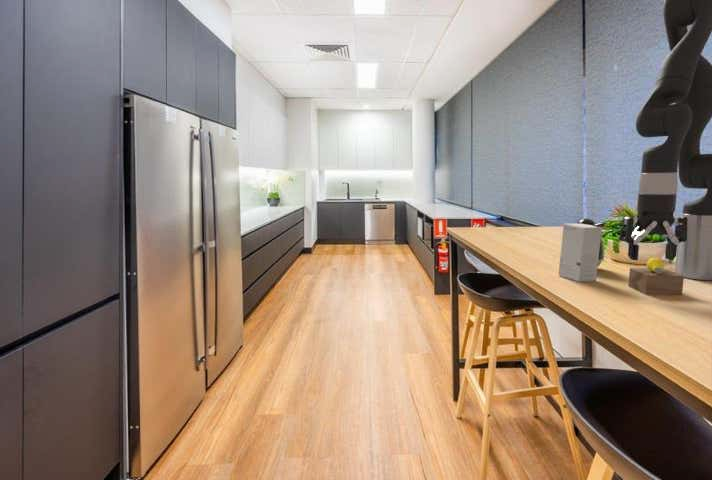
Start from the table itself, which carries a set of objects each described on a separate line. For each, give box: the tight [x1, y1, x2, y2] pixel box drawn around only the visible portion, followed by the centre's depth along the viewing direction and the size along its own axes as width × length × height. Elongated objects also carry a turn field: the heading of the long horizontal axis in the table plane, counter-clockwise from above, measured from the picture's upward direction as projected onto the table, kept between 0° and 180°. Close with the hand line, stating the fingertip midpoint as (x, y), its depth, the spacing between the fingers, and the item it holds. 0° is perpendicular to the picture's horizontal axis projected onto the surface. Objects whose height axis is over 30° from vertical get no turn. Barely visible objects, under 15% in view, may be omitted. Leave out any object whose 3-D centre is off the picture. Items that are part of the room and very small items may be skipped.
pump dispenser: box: [576, 218, 606, 267], centre depth 132 cm, size 10×10×15 cm
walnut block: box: [627, 267, 685, 296], centre depth 106 cm, size 8×8×5 cm
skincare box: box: [558, 223, 603, 283], centre depth 119 cm, size 8×6×15 cm
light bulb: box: [646, 257, 665, 275], centre depth 105 cm, size 3×6×4 cm, turn 157°
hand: (651, 259), depth 106 cm, fingers open, 8 cm apart
